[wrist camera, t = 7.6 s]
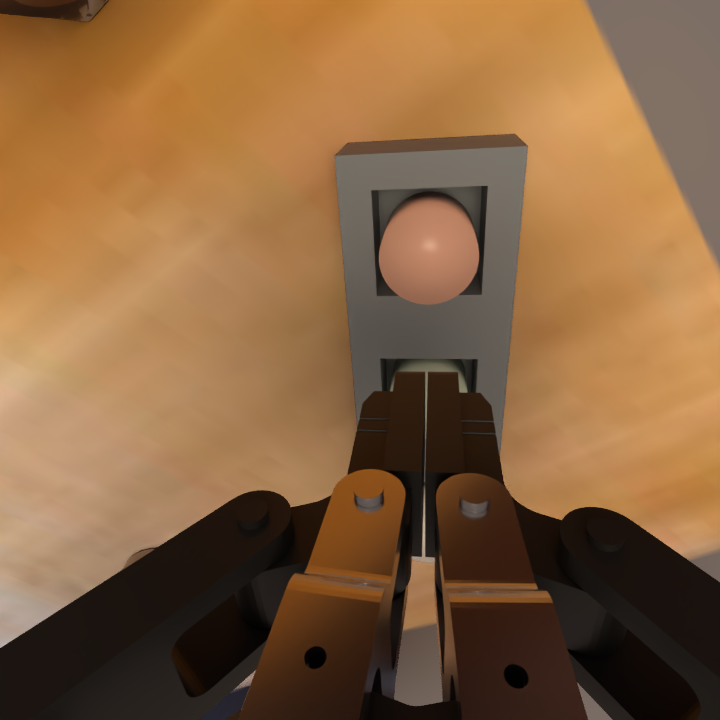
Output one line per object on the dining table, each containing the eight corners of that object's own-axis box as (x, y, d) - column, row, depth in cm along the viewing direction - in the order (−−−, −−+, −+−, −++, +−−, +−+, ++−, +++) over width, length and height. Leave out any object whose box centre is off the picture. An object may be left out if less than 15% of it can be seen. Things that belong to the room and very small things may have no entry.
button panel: (485, 513, 37) (490, 560, 33) (373, 508, 38) (367, 552, 34) (514, 134, 24) (528, 146, 21) (348, 142, 25) (334, 155, 22)
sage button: (464, 405, 30) (467, 440, 28) (393, 404, 31) (389, 437, 28) (467, 343, 28) (470, 373, 26) (391, 343, 29) (386, 372, 26)
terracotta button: (472, 277, 25) (476, 304, 22) (386, 279, 26) (380, 304, 23) (476, 189, 23) (481, 206, 20) (383, 193, 24) (376, 210, 21)
